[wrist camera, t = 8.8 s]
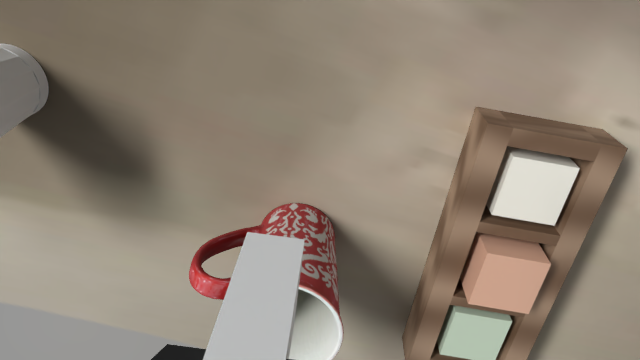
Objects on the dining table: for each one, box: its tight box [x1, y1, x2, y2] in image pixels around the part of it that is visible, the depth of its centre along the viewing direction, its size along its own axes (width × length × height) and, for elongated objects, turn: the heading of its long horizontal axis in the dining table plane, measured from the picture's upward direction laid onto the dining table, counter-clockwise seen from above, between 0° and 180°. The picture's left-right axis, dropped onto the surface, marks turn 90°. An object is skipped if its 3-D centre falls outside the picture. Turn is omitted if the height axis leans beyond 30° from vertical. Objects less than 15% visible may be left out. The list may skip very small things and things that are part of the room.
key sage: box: [437, 305, 512, 360], centre depth 50 cm, size 5×5×4 cm
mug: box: [189, 203, 344, 360], centre depth 42 cm, size 13×9×14 cm
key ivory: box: [486, 146, 580, 226], centre depth 42 cm, size 5×5×4 cm
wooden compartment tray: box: [402, 107, 628, 360], centre depth 46 cm, size 26×11×4 cm, turn 170°
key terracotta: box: [460, 232, 551, 314], centre depth 44 cm, size 5×5×4 cm
